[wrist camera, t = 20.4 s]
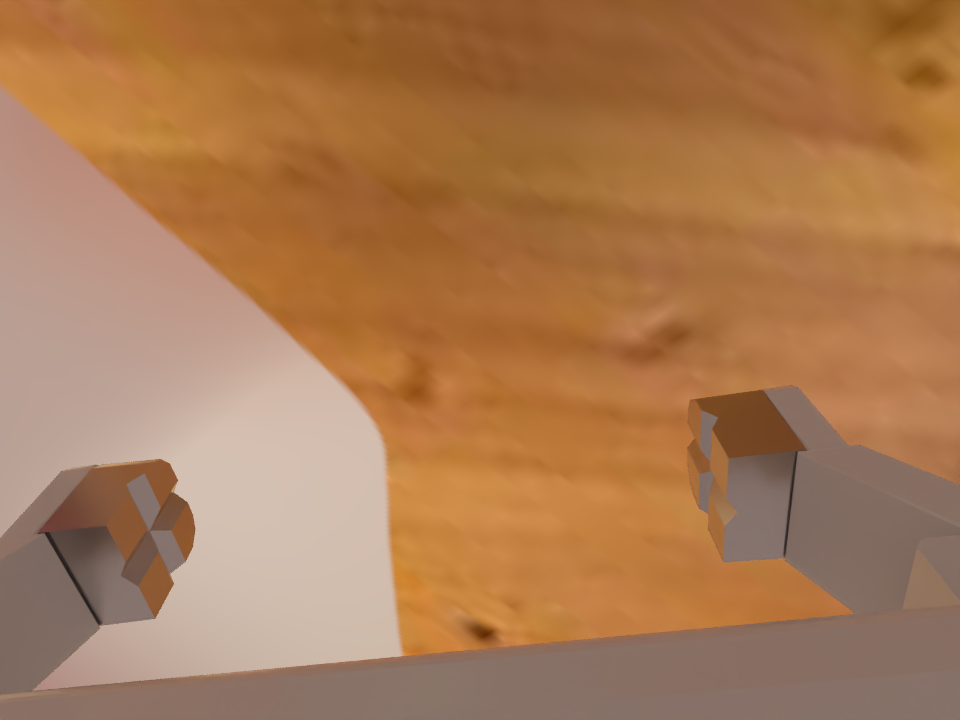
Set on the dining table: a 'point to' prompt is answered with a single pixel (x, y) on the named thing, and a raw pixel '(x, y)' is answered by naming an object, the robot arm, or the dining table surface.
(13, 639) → the robot arm
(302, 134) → the dining table surface
